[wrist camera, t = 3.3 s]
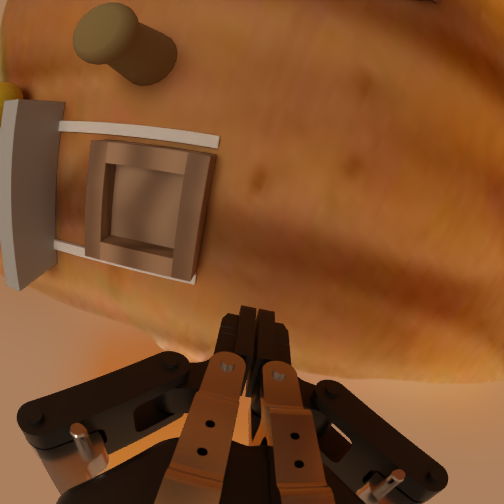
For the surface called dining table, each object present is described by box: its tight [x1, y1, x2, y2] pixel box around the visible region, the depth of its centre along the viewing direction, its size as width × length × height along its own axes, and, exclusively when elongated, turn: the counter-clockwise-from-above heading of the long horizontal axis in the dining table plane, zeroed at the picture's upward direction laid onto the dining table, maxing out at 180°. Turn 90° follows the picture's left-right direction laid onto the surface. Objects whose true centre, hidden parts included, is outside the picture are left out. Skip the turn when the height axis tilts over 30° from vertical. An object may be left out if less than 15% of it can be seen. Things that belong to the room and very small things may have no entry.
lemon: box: [0, 82, 23, 127], centre depth 22 cm, size 6×6×8 cm
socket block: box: [85, 140, 216, 282], centre depth 28 cm, size 12×12×3 cm
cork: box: [73, 3, 177, 86], centre depth 19 cm, size 6×6×11 cm
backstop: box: [0, 99, 220, 291], centre depth 26 cm, size 21×20×8 cm
